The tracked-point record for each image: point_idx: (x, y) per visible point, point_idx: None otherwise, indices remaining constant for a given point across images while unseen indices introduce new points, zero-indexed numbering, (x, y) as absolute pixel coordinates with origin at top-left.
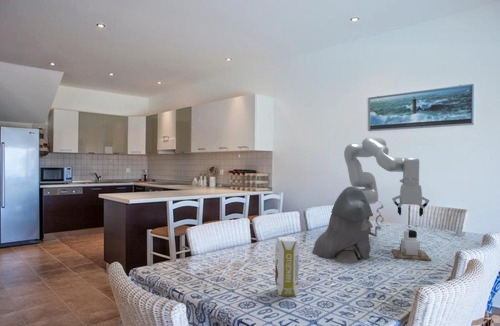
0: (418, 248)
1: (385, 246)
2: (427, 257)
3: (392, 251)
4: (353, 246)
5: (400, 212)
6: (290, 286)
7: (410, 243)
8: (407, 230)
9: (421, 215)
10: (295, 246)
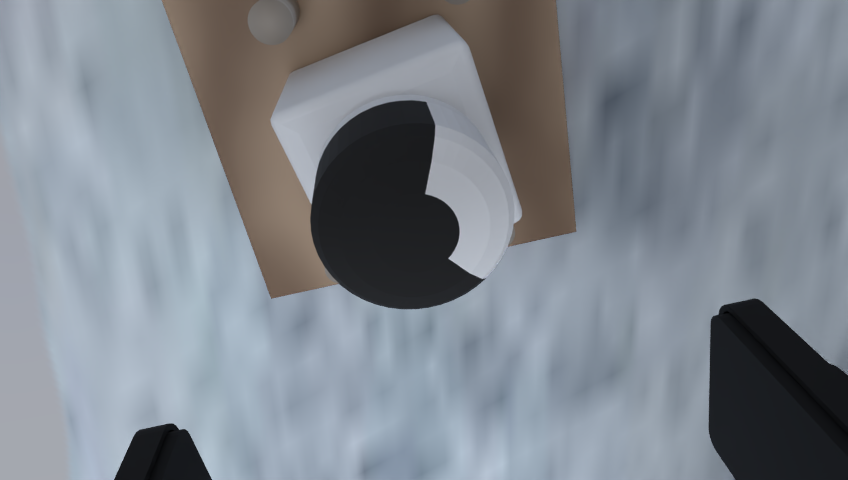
0: (294, 85)
1: (618, 362)
2: (201, 37)
3: (567, 153)
4: None
5: (780, 347)
6: None
7: (390, 59)
8: (459, 195)
9: (141, 441)
10: None
